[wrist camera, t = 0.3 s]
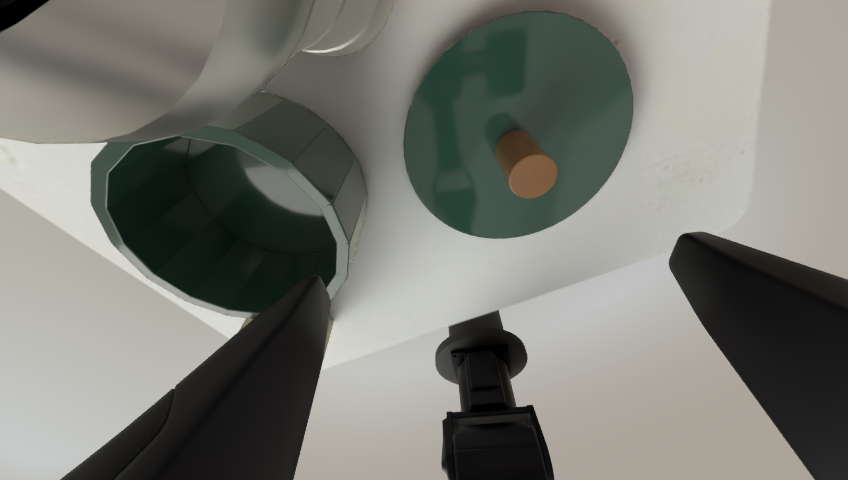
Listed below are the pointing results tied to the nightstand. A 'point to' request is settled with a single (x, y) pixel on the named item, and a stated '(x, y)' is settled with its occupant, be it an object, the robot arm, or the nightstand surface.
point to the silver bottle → (156, 60)
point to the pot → (235, 206)
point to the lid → (518, 124)
